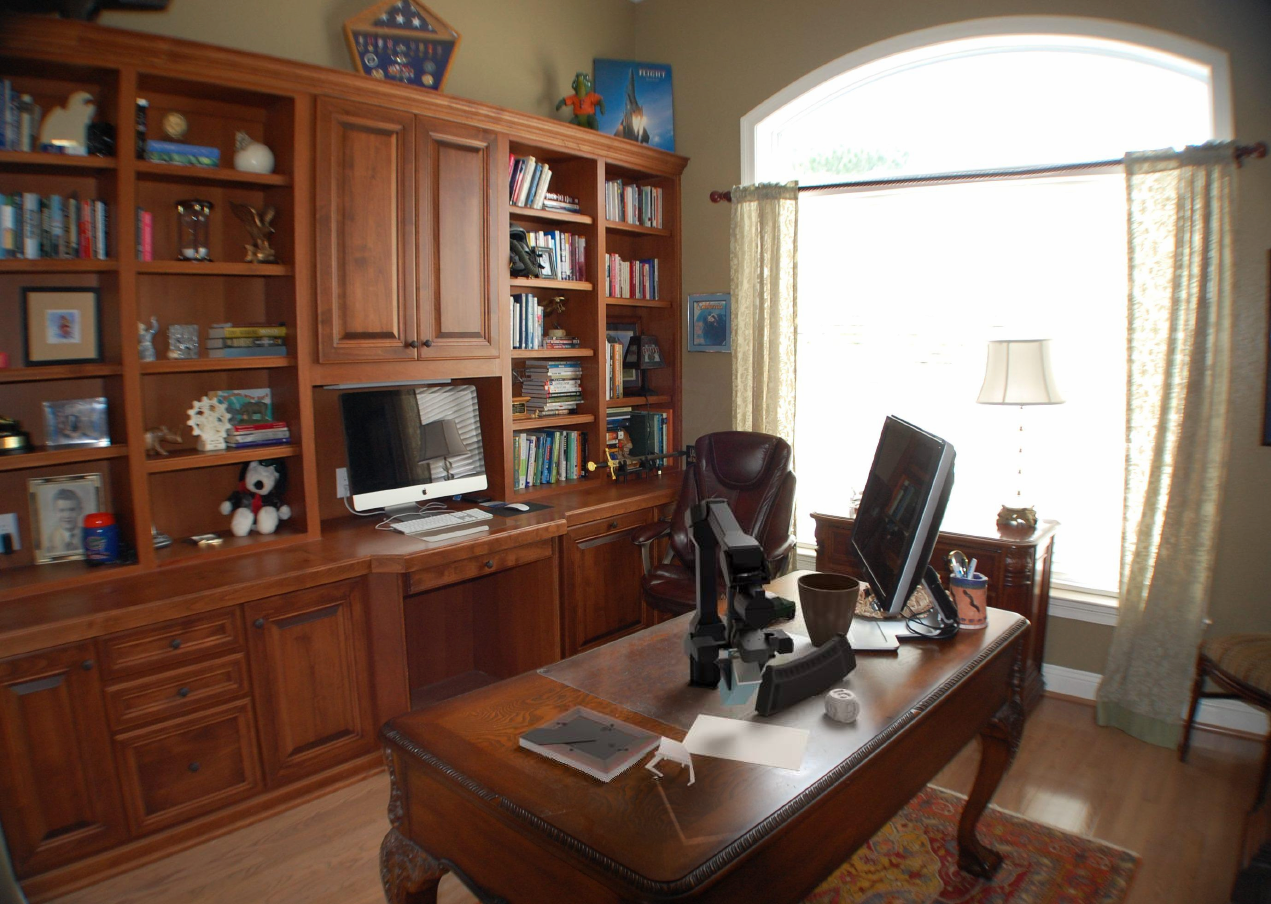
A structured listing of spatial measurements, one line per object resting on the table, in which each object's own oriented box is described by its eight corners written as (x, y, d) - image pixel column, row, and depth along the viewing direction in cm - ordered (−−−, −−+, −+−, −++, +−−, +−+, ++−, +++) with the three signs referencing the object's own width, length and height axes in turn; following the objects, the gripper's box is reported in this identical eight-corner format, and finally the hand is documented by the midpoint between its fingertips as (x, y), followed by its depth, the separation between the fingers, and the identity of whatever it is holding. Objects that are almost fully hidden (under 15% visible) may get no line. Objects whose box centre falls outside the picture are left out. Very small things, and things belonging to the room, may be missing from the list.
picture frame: (519, 748, 152) (607, 786, 139) (519, 736, 151) (606, 773, 138) (578, 715, 165) (664, 747, 151) (578, 703, 164) (663, 735, 151)
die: (844, 710, 164) (845, 686, 163) (859, 721, 159) (860, 697, 158) (823, 714, 162) (824, 691, 161) (838, 725, 157) (838, 701, 157)
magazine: (758, 682, 156) (847, 605, 173) (746, 677, 159) (834, 602, 176) (774, 753, 162) (859, 671, 179) (762, 746, 164) (846, 667, 181)
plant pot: (811, 629, 209) (812, 569, 206) (867, 640, 200) (869, 578, 198) (786, 647, 197) (786, 584, 194) (845, 660, 188) (846, 594, 186)
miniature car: (799, 618, 217) (799, 589, 216) (752, 633, 207) (752, 603, 205) (774, 609, 224) (774, 581, 223) (727, 624, 214) (727, 595, 212)
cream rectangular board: (677, 753, 148) (677, 750, 148) (699, 717, 162) (698, 714, 161) (798, 773, 140) (799, 770, 140) (810, 733, 154) (810, 730, 154)
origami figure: (633, 773, 141) (633, 747, 141) (668, 756, 147) (667, 731, 146) (681, 802, 133) (681, 774, 132) (716, 783, 138) (716, 756, 137)
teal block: (723, 707, 156) (738, 683, 146) (717, 684, 159) (733, 659, 149) (745, 704, 157) (762, 680, 147) (739, 681, 159) (756, 656, 150)
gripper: (706, 629, 140) (706, 714, 142) (807, 619, 144) (805, 702, 146) (688, 607, 150) (689, 686, 153) (782, 599, 154) (781, 676, 157)
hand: (741, 688), depth 152 cm, fingers closed on teal block, 4 cm apart
